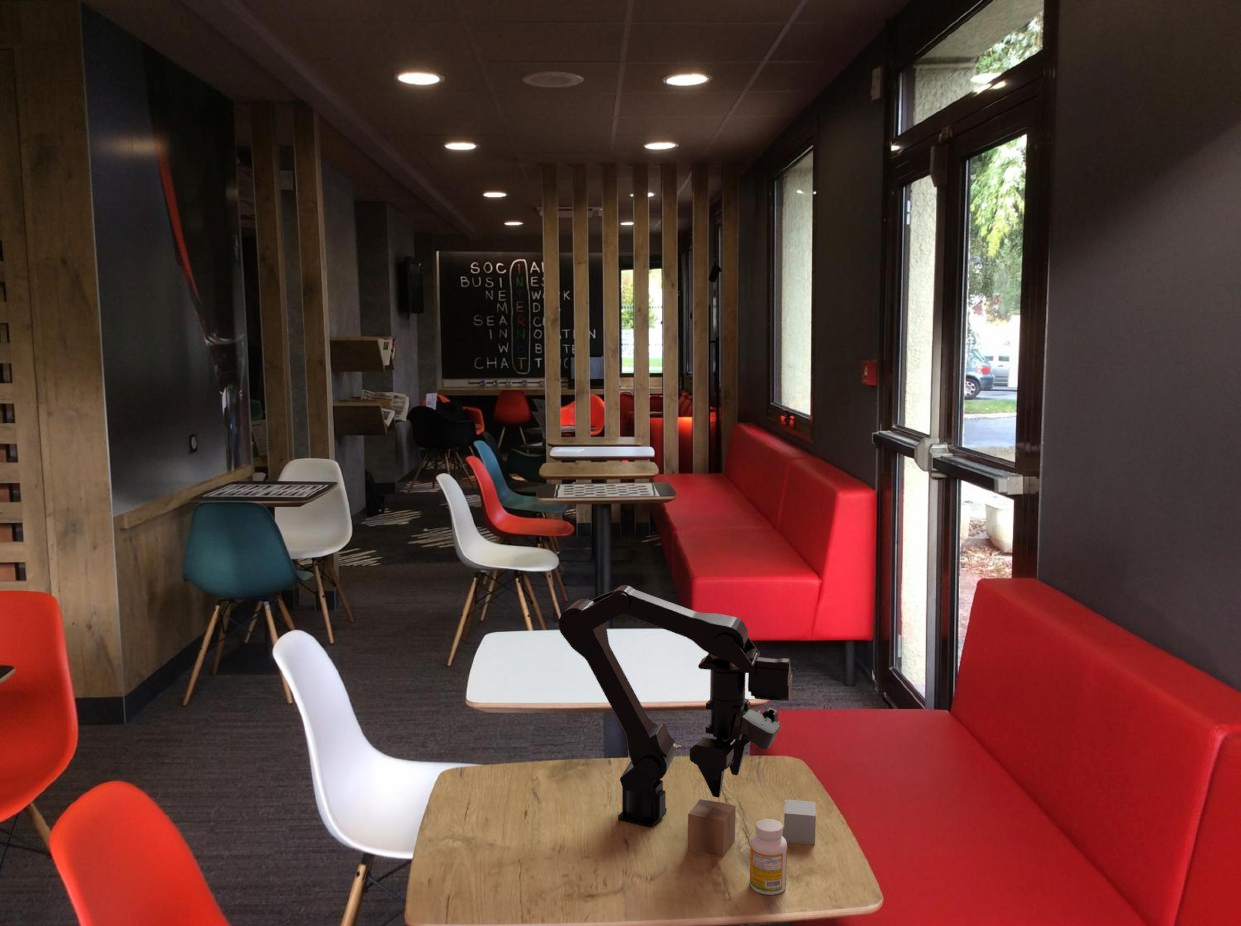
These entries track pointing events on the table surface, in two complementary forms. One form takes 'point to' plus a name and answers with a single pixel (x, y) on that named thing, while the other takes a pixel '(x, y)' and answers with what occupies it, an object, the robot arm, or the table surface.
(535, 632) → the table surface
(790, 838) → the grey cube
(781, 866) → the supplement bottle
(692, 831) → the walnut cube
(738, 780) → the table surface
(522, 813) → the table surface
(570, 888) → the table surface
